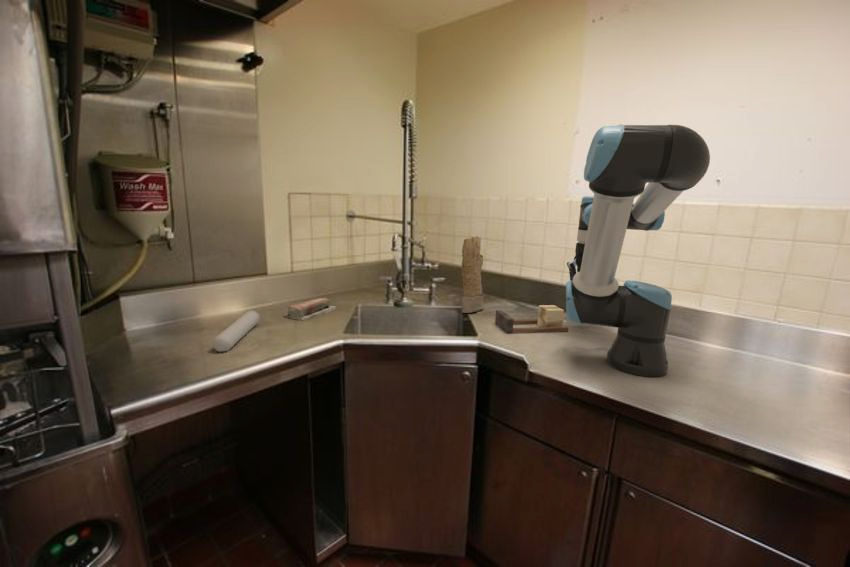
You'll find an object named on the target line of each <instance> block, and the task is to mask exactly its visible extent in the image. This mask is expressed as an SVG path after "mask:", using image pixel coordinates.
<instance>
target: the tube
mask: <svg viewBox="0 0 850 567" xmlns="http://www.w3.org/2000/svg"><path fill="white" fill-rule="evenodd" d="M260 322H261V319H260V314H259V313H258V312H256V311H255V310H247V311H245V313H244V314H243V315H242V316H240V317H239V318H238V319H236V321H234V322H233V323H232V324H230V325H229V326H228V327H227V328H225V329H224V330H223V331H222V332H220V333H219V334H217V335H216V337H215V338H214V339H213V341H212V343H213V349H215V350H216V351H217V353H221V352H222V353H226V352H225V351H227V352H228V351H229V350H231V349H232V348H233V347H234V346H235V345H236V344H237V343H238V342H239V341H240V340H241V339H242V338H243V337H245V335H247V334H248V333H249V332H250V331H251V330H252V329H253V328H254V327H256V326H257V325H258V324H259V323H260Z"/></svg>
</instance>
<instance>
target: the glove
mask: <svg viewBox="0 0 850 567" xmlns="http://www.w3.org/2000/svg"><path fill="white" fill-rule="evenodd" d="M481 240H482V239H481V237H479V236H478V235H476V236H472V237H471V238H465V239H463V243H462V244H463V245H462V248H461V249H462V250H461V255H462V256H461V257H462V259H461V260H462V261H461V276H462V285H463V286H462V290H463V291H462V292H463V294H462V297H461V299H462V302H461V303H462V308H461V313H462V314H468V313H469V314H470V313H475V312H478V311H482V310H483V309H484V307H485V306H484V298H485V294H484V293H483V287H482V274H481V271H482V269H483V268H482V267H483V262H484V256H483V254H481V245H482V244H481V242H482V241H481Z"/></svg>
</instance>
